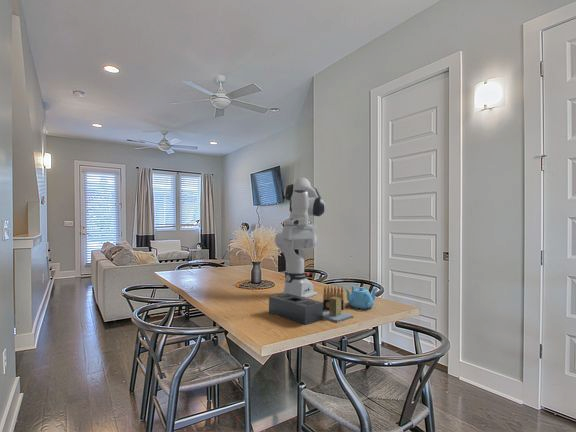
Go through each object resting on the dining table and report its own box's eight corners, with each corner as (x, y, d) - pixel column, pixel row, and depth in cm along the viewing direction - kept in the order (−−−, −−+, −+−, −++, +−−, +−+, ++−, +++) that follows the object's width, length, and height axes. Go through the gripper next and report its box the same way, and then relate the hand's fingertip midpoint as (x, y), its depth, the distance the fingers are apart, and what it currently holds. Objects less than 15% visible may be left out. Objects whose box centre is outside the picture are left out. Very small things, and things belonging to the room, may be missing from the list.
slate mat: (332, 312, 162) (332, 309, 162) (353, 317, 153) (353, 315, 153) (317, 316, 153) (317, 314, 153) (337, 322, 145) (337, 320, 145)
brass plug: (334, 313, 156) (334, 296, 156) (341, 315, 153) (341, 298, 153) (329, 314, 153) (329, 297, 153) (335, 316, 150) (336, 299, 150)
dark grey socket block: (286, 308, 165) (286, 292, 166) (322, 319, 148) (323, 302, 148) (268, 313, 157) (269, 296, 157) (304, 325, 140) (305, 306, 140)
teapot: (370, 311, 164) (371, 291, 164) (342, 307, 171) (342, 287, 171) (377, 305, 177) (377, 286, 177) (350, 301, 184) (351, 283, 184)
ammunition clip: (322, 309, 166) (323, 286, 166) (322, 308, 167) (323, 285, 168) (343, 310, 166) (344, 286, 166) (343, 309, 168) (343, 285, 168)
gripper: (308, 221, 173) (308, 247, 172) (280, 221, 158) (280, 249, 158) (317, 221, 168) (317, 248, 168) (289, 221, 154) (289, 250, 154)
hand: (299, 248), depth 163 cm, fingers open, 8 cm apart
